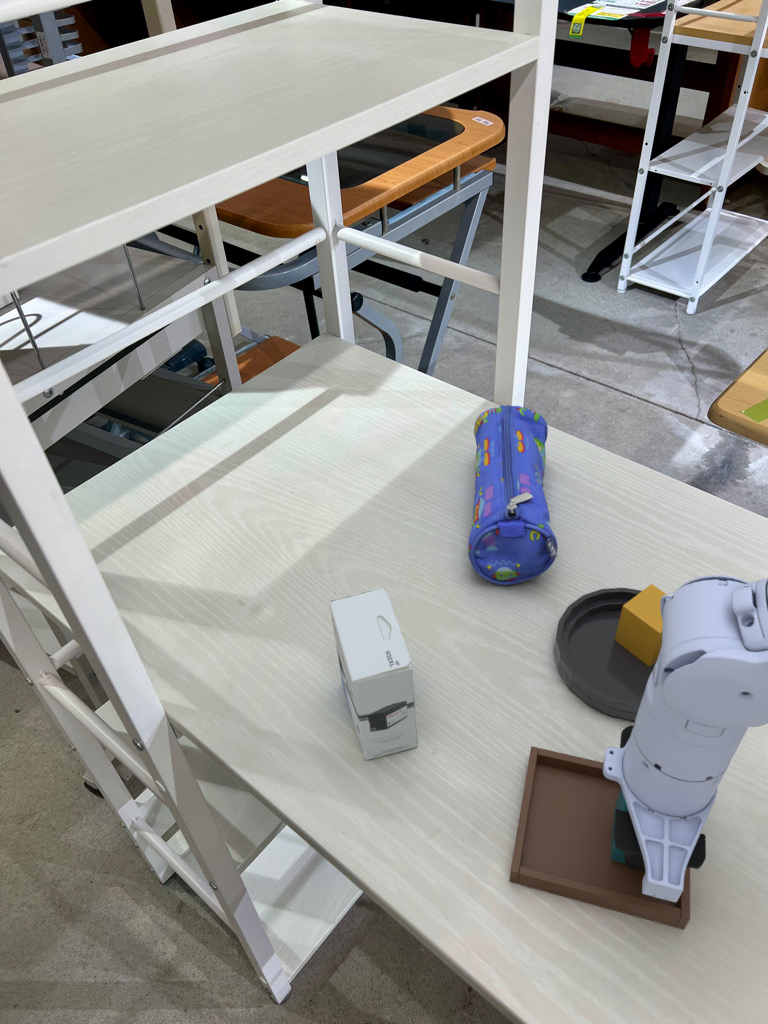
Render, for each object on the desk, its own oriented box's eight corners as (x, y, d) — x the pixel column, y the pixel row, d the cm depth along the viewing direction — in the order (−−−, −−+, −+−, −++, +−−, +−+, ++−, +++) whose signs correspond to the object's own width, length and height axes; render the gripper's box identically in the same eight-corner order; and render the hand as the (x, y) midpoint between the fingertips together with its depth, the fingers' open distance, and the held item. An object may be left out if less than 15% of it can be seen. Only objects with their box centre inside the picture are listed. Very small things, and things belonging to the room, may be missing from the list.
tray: (684, 793, 59) (690, 782, 58) (684, 929, 52) (690, 920, 50) (529, 757, 62) (531, 745, 61) (509, 881, 55) (510, 871, 53)
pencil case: (553, 597, 74) (563, 528, 68) (466, 593, 75) (468, 525, 69) (543, 457, 90) (551, 390, 83) (472, 455, 91) (474, 389, 85)
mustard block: (677, 644, 69) (689, 609, 65) (649, 667, 67) (660, 633, 64) (641, 618, 71) (651, 583, 68) (614, 639, 69) (622, 605, 66)
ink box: (340, 680, 68) (326, 597, 60) (392, 667, 69) (384, 583, 61) (363, 763, 62) (350, 683, 54) (419, 747, 63) (415, 666, 55)
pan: (701, 618, 71) (707, 601, 69) (702, 737, 62) (710, 721, 60) (562, 594, 74) (565, 577, 73) (545, 704, 65) (548, 688, 64)
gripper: (622, 633, 51) (595, 735, 61) (605, 836, 41) (577, 922, 51) (731, 653, 50) (686, 756, 59) (741, 870, 40) (686, 952, 49)
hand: (642, 834), depth 55 cm, fingers closed on teal block, 4 cm apart
